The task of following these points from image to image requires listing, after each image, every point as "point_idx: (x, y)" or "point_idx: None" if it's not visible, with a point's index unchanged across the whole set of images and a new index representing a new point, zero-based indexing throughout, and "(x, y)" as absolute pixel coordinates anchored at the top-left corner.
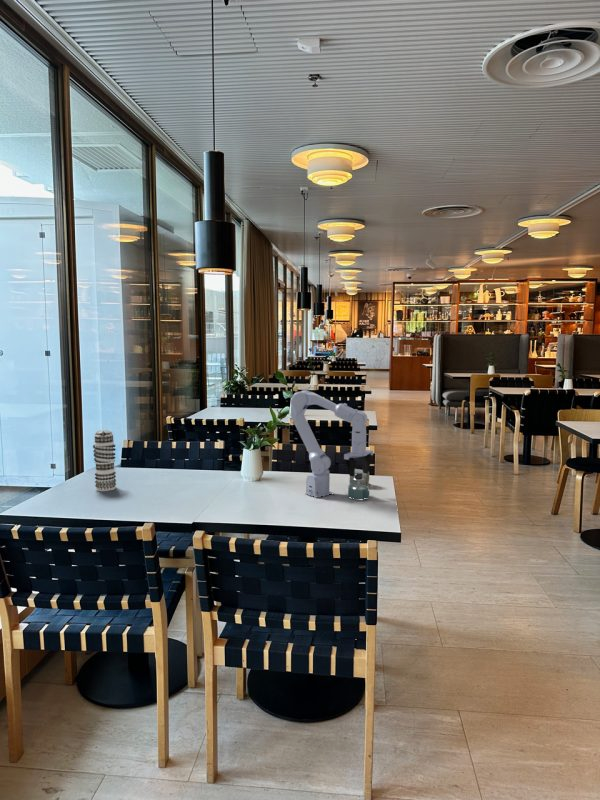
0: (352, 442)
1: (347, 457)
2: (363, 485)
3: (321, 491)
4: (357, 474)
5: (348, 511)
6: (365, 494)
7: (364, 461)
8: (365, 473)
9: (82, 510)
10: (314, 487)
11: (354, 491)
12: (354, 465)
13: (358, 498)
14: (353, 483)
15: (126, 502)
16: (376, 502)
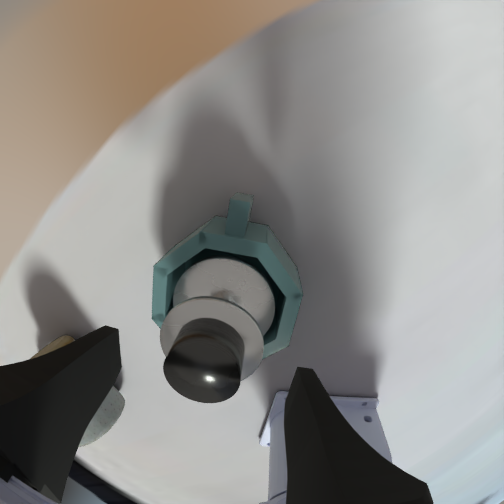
0: None
1: None
2: (159, 305)
3: (347, 419)
4: (233, 371)
5: (476, 170)
6: (248, 219)
7: (61, 437)
8: None
9: None
10: (384, 440)
11: (299, 286)
12: (345, 455)
13: (281, 247)
14: (113, 389)
15: (498, 487)
16: (246, 129)
